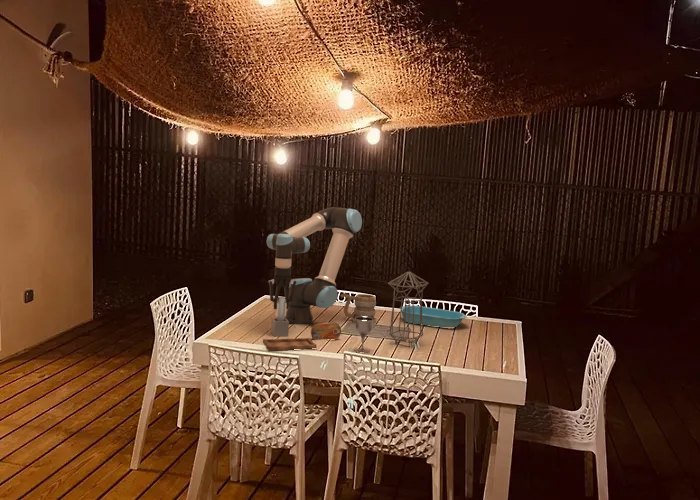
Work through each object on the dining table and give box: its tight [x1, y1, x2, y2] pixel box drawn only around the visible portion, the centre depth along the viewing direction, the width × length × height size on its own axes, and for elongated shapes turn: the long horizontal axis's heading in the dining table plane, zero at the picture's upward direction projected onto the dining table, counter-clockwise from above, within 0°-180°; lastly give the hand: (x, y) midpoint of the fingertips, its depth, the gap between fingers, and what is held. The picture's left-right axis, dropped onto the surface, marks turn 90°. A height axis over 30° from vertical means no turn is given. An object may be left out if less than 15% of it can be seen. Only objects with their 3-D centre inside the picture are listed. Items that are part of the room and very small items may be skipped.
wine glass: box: [354, 316, 374, 354], centre depth 298 cm, size 8×8×15 cm
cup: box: [270, 317, 290, 338], centre depth 314 cm, size 7×7×8 cm
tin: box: [310, 322, 342, 341], centre depth 313 cm, size 15×3×8 cm, turn 117°
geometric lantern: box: [387, 271, 430, 348], centre depth 314 cm, size 16×16×35 cm
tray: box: [262, 337, 318, 352], centre depth 298 cm, size 22×13×2 cm, turn 110°
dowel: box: [276, 296, 286, 321], centre depth 314 cm, size 3×3×18 cm
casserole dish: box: [399, 305, 467, 328], centre depth 362 cm, size 37×22×7 cm, turn 69°
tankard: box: [340, 292, 377, 325], centre depth 356 cm, size 20×13×15 cm, turn 88°
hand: (280, 315), depth 314 cm, fingers closed on dowel, 3 cm apart
